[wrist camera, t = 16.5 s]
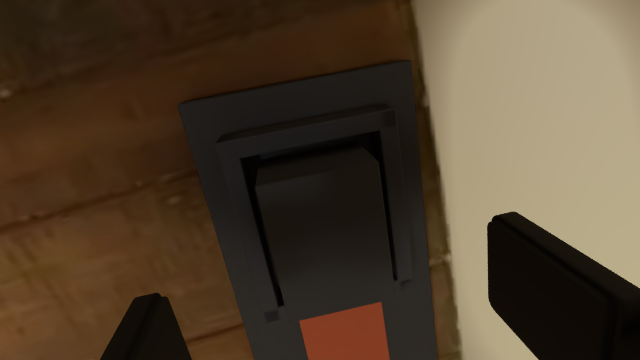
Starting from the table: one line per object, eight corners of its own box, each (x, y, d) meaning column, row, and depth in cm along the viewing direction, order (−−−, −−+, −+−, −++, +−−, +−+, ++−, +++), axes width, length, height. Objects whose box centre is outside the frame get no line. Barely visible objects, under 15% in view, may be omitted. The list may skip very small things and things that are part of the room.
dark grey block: (258, 161, 16) (254, 186, 12) (357, 141, 16) (379, 160, 13) (286, 275, 18) (288, 324, 14) (374, 256, 18) (396, 299, 15)
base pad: (182, 102, 16) (166, 108, 13) (403, 60, 16) (425, 59, 14) (272, 402, 21) (272, 444, 19) (432, 363, 22) (451, 399, 20)
